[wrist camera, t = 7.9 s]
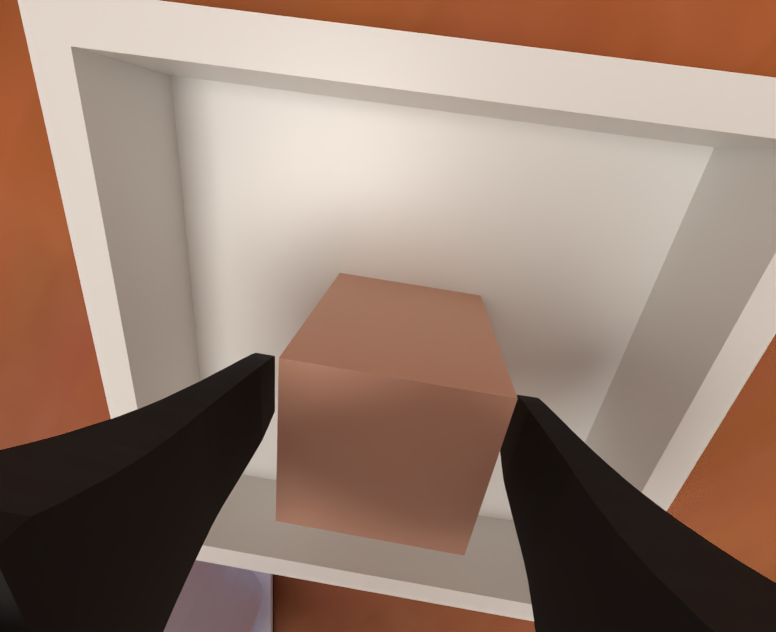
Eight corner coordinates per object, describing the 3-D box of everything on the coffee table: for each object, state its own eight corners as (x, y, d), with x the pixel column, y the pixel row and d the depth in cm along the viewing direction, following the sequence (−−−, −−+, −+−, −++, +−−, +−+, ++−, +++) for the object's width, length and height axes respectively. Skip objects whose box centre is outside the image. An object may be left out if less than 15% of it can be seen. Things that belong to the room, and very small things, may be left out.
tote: (559, 535, 18) (592, 632, 15) (195, 472, 19) (139, 550, 15) (754, 114, 11) (921, 96, 7) (145, 35, 11) (13, -18, 8)
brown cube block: (451, 410, 15) (464, 555, 10) (329, 389, 15) (275, 520, 10) (480, 295, 13) (517, 398, 8) (339, 272, 13) (278, 358, 8)
